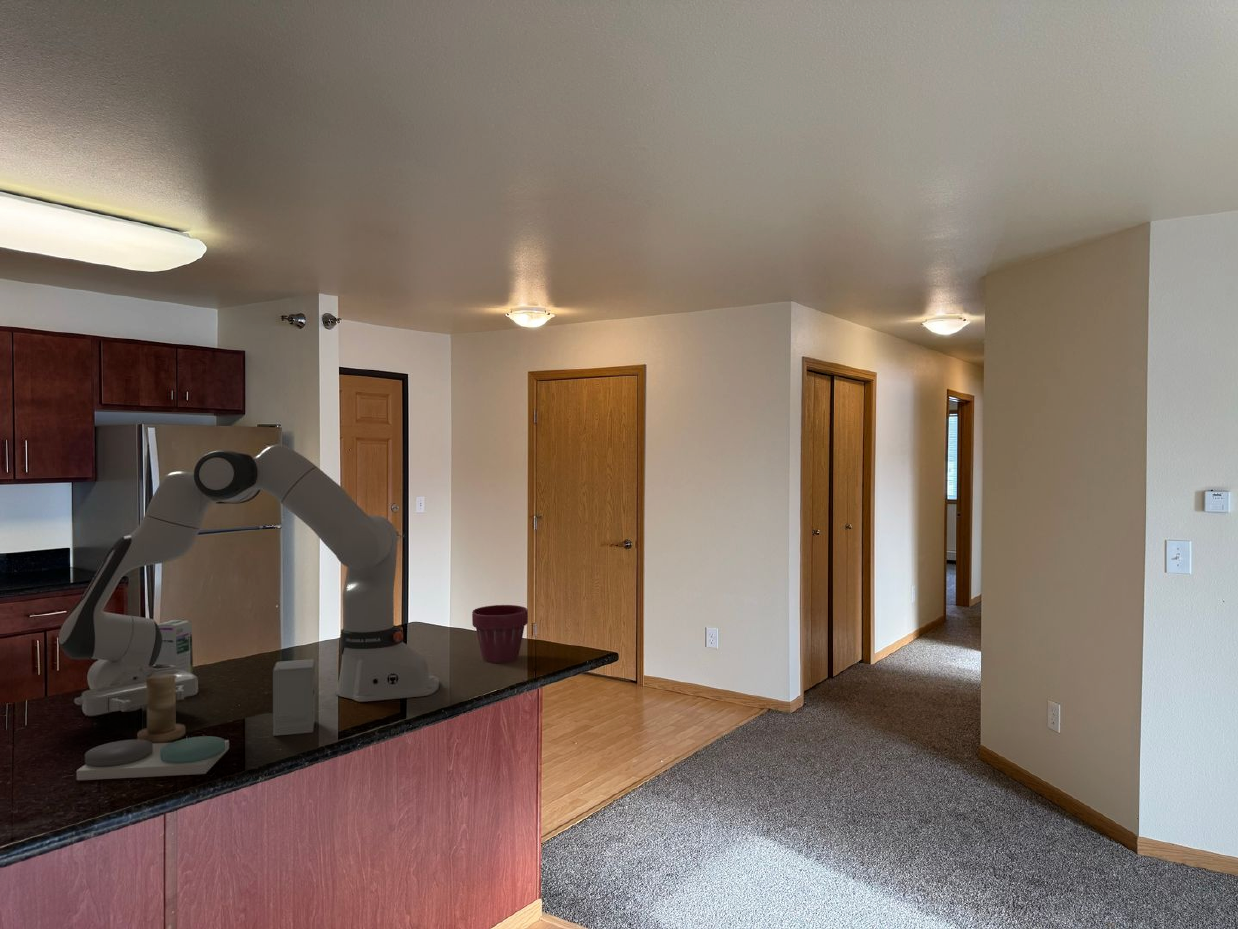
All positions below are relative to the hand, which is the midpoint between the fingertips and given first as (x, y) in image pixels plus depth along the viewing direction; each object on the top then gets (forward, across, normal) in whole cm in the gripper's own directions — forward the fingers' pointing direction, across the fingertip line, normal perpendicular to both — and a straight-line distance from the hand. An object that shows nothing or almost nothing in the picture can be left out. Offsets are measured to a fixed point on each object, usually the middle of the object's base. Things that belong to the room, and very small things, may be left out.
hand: (154, 701), depth 162 cm
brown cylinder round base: (+4, 0, +6) cm, 7 cm away
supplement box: (+18, +19, +6) cm, 27 cm away
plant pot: (+5, +81, +6) cm, 81 cm away
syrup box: (-33, +15, +6) cm, 37 cm away
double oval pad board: (+18, -6, +6) cm, 20 cm away
